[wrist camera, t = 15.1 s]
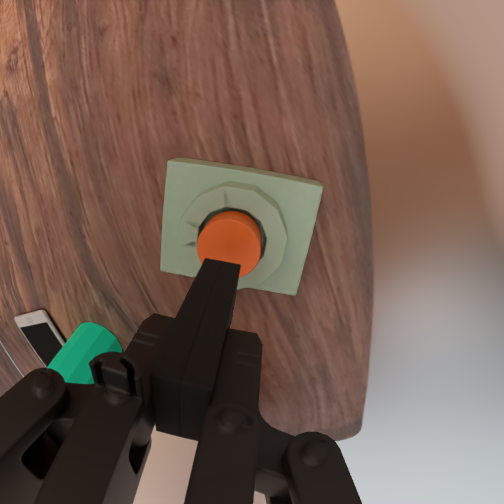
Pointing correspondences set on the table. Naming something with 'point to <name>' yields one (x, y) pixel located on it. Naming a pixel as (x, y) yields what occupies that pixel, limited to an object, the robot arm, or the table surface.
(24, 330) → the smartphone
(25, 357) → the table surface
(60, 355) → the candle
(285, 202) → the button block
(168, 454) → the vase
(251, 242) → the button
